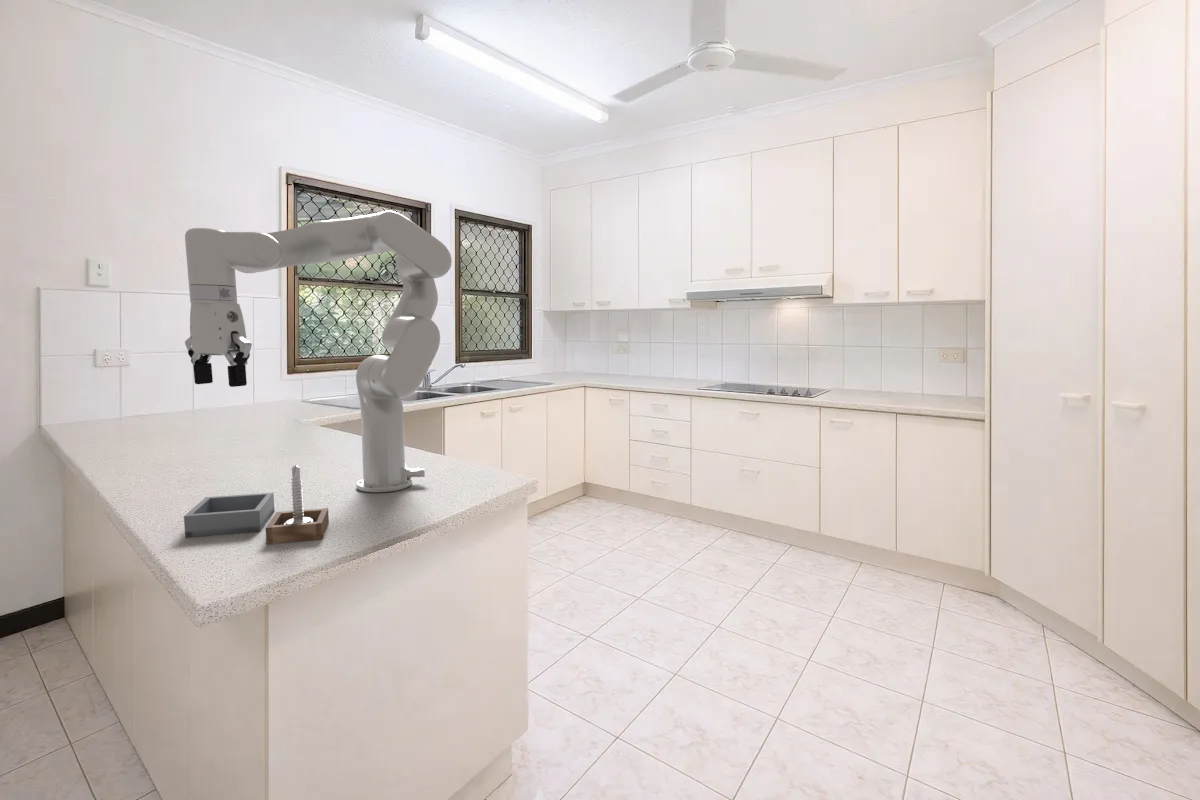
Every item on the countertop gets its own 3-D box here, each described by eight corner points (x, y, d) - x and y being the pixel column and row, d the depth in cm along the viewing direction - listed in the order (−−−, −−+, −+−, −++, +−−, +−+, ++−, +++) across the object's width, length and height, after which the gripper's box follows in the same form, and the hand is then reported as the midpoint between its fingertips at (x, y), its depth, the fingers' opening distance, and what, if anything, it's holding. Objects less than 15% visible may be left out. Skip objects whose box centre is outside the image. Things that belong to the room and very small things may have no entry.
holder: (328, 522, 112) (328, 508, 112) (322, 539, 104) (321, 523, 103) (277, 527, 109) (276, 512, 109) (266, 544, 101) (265, 527, 100)
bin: (274, 511, 118) (273, 492, 118) (260, 531, 107) (259, 510, 107) (207, 516, 115) (205, 497, 114) (185, 537, 103) (183, 516, 103)
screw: (280, 533, 106) (306, 526, 110) (291, 539, 103) (318, 532, 107) (276, 465, 105) (303, 460, 108) (287, 469, 101) (315, 464, 105)
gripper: (263, 296, 109) (269, 385, 112) (203, 297, 116) (210, 381, 118) (225, 294, 102) (232, 389, 105) (163, 295, 109) (171, 384, 111)
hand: (220, 384), depth 111 cm, fingers open, 9 cm apart
